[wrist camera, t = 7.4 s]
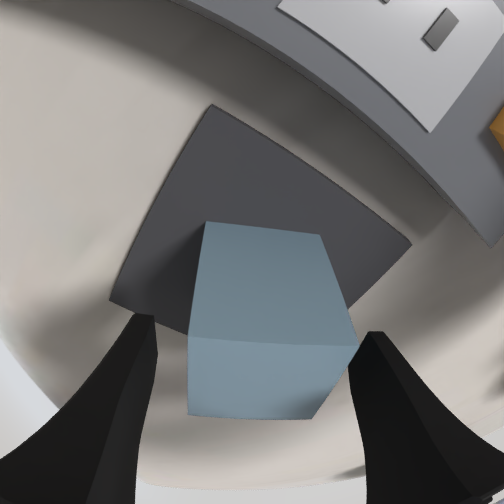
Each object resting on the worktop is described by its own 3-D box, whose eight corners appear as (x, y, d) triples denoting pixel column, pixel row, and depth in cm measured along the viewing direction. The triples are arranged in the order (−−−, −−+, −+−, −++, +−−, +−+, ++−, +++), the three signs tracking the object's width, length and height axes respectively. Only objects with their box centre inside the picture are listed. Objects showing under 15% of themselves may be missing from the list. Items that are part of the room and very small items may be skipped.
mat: (408, 239, 13) (412, 244, 13) (278, 363, 18) (279, 368, 17) (212, 103, 10) (210, 105, 9) (111, 294, 14) (108, 300, 14)
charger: (319, 234, 12) (359, 345, 8) (293, 316, 15) (310, 420, 10) (205, 221, 12) (187, 336, 7) (199, 308, 14) (187, 416, 10)
